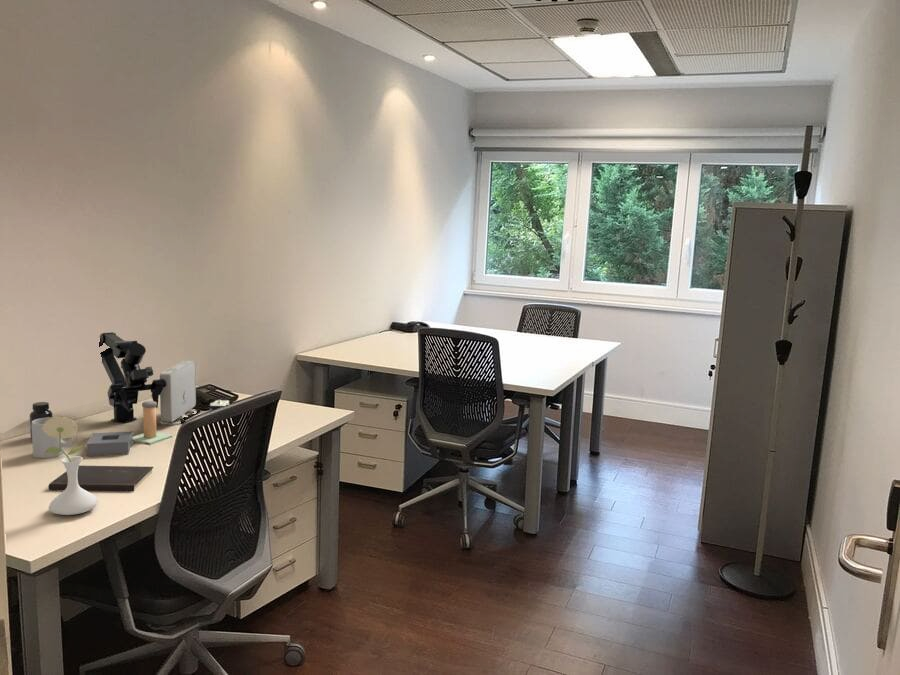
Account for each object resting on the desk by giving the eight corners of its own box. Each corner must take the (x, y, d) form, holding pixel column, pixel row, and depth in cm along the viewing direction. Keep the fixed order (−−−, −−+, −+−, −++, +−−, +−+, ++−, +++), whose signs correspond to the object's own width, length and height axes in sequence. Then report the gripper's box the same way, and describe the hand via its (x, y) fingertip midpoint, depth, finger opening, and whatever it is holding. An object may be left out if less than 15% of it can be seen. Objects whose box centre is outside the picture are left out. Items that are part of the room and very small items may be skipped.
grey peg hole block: (93, 444, 241) (93, 433, 240) (132, 442, 244) (132, 431, 244) (87, 456, 229) (86, 443, 229) (128, 453, 233) (128, 441, 232)
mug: (27, 458, 225) (25, 423, 224) (41, 449, 234) (39, 416, 232) (67, 459, 226) (65, 424, 224) (79, 450, 234) (78, 417, 233)
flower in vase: (106, 503, 193) (103, 412, 189) (83, 520, 182) (79, 424, 178) (58, 500, 193) (54, 409, 190) (32, 517, 182) (27, 421, 178)
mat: (128, 440, 247) (128, 438, 247) (150, 432, 256) (150, 431, 256) (150, 444, 243) (150, 442, 243) (172, 436, 252) (172, 435, 252)
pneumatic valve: (230, 428, 265) (230, 396, 264) (222, 437, 254) (222, 404, 252) (215, 427, 265) (214, 395, 263) (206, 437, 254) (205, 403, 252)
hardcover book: (74, 472, 216) (74, 465, 216) (153, 474, 218) (153, 466, 217) (48, 492, 200) (48, 484, 200) (134, 493, 202) (133, 485, 202)
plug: (140, 438, 247) (139, 404, 245) (146, 434, 252) (145, 401, 250) (154, 439, 247) (153, 404, 245) (159, 435, 252) (158, 401, 250)
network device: (177, 427, 263) (176, 373, 260) (153, 426, 263) (151, 372, 260) (201, 409, 289) (201, 360, 286) (179, 409, 289) (178, 359, 286)
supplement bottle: (25, 438, 244) (24, 404, 242) (43, 433, 250) (42, 400, 248) (40, 441, 241) (38, 406, 240) (58, 436, 248) (56, 402, 246)
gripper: (109, 361, 248) (120, 400, 242) (164, 357, 260) (176, 393, 254) (102, 379, 255) (113, 417, 249) (156, 373, 267) (168, 410, 261)
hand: (143, 409), depth 253 cm, fingers open, 9 cm apart
